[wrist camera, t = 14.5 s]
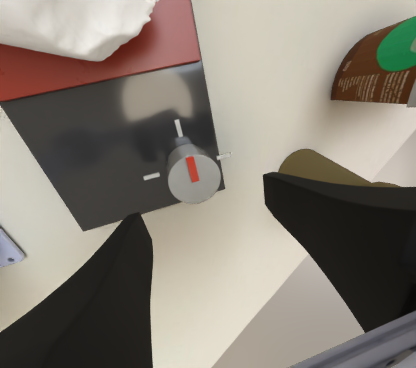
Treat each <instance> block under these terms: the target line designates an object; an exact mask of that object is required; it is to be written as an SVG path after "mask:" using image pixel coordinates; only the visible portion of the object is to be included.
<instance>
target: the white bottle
mask: <svg viewBox="0 0 416 368" xmlns="http://www.w3.org/2000/svg"><path fill="white" fill-rule="evenodd" d="M158 1H159V0H0V44H6V45H10V46H16V47H21V48H26V49H30V50H35V51H40V52H45V53H50V54H55V55H60V56H66V57H72V58H76V59H82V60H88V61H97V62H98V61H103V60H105V59H106V58H107V57H109V56H111V55H112V53H113V52H114V51H116V50H117V49H118V48H119V47H120V45H122V44H125V43H127V42H128V41H129V40H130V39H132V38H134V37H136V36H138V35H139V33H140V31H141V29H142V27H143V25H144V24H145V23H147V22H149V21H150V20H151V18H150V17H149V15H150V13H152V11H153V7H154V6H155V3H156V2H158Z"/></svg>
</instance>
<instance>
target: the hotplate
mask: <svg viewBox="0 0 416 368" xmlns="http://www.w3.org/2000/svg"><path fill="white" fill-rule="evenodd" d="M149 17H150V18H151V20H150V21H149V22H147V23H145V24H144V25H143V27H142V29H141V31H140V33H139V35H138V36H136V37H134V38H132V39H130V40H129V41H128V42H127V43H125V44H122V45H120V47H119V48H118V49H117V50H116V51H114V52H113V53H112V55H111V56H109V57H107V58H106V59H105V60H103V61H98V62H97V61H88V60H82V59H76V58H72V57H66V56H60V55H55V54H50V53H45V52H40V51H35V50H30V49H26V48H21V47H16V46H10V45H6V44H0V102H6V101H10V100H15V99H20V98H25V97H30V96H35V95H39V94H44V93H49V92H54V91H59V90H64V89H68V88H73V87H78V86H83V85H88V84H93V83H97V82H102V81H107V80H112V79H117V78H122V77H126V76H131V75H136V74H141V73H146V72H151V71H155V70H160V69H165V68H170V67H175V66H180V65H184V64H189V63H194V62H199V61H200V60H201V57H200V51H199V46H198V40H197V35H196V29H195V24H194V18H193V13H192V7H191V2H190V0H159V1H158V2H156V3H155V6H154V7H153V11H152V13H150V15H149Z"/></svg>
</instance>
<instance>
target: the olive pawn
mask: <svg viewBox="0 0 416 368" xmlns="http://www.w3.org/2000/svg"><path fill="white" fill-rule="evenodd" d="M278 173H283V174H288V175H293V176H298V177H302V178H307V179H312V180H317V181H323V182H329V183H337V184H346V185H355V186H372V187H400V186H398V185H395V184H390V183H383V182H375V183H371V182H369V181H367V180H365V179H364V178H362V177H360V176H358V175H356V174H355V173H353V172H351V171H349V170H348V169H346V168H344V167H342V166H340V165H339V164H337V163H335V162H333V161H331V160H330V159H328V158H326V157H324V156H323V155H321V154H319V153H317V152H315V151H314V150H310V149H302V150H298V151H296V152H294V153H292V154H291V155H290V156H289V157H287V158H286V159H285V161H284V162H283V164H282V165H281V167H280V169H279V172H278Z"/></svg>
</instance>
